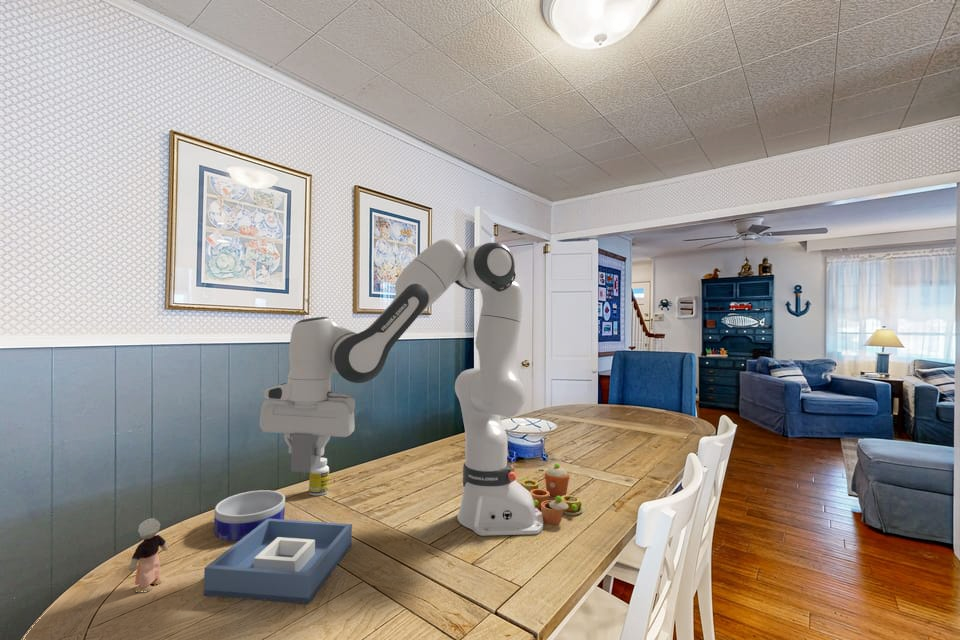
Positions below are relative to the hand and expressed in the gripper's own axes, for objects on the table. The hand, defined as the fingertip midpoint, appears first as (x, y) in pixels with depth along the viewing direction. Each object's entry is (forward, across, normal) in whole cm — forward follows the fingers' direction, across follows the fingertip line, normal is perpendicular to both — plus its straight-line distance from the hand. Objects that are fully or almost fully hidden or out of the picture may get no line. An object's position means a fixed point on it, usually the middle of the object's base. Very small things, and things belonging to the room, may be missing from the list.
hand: (306, 454), depth 92 cm
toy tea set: (+21, -57, -35) cm, 70 cm away
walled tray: (+22, +1, +5) cm, 22 cm away
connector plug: (+3, 0, 0) cm, 3 cm away
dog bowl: (+22, +19, -11) cm, 31 cm away
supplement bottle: (+22, +12, -33) cm, 41 cm away
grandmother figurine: (+22, +23, +15) cm, 35 cm away
